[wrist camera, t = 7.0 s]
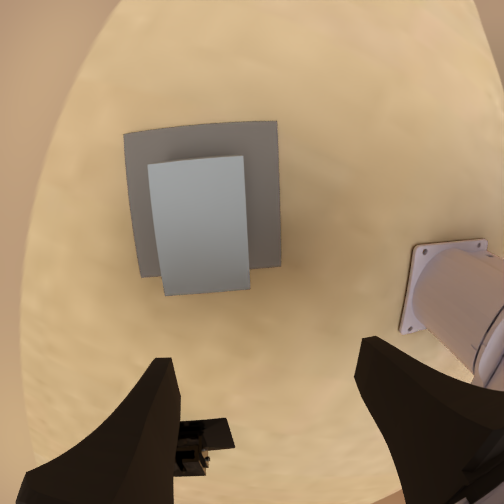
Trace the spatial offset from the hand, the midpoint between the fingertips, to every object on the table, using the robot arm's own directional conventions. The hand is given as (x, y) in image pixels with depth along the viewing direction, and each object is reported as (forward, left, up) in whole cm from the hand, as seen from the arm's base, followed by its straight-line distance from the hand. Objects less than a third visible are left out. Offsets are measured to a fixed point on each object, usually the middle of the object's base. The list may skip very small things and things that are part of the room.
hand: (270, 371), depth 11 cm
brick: (+2, -4, -9) cm, 10 cm away
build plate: (+7, +17, -11) cm, 21 cm away
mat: (+2, -5, -10) cm, 11 cm away
